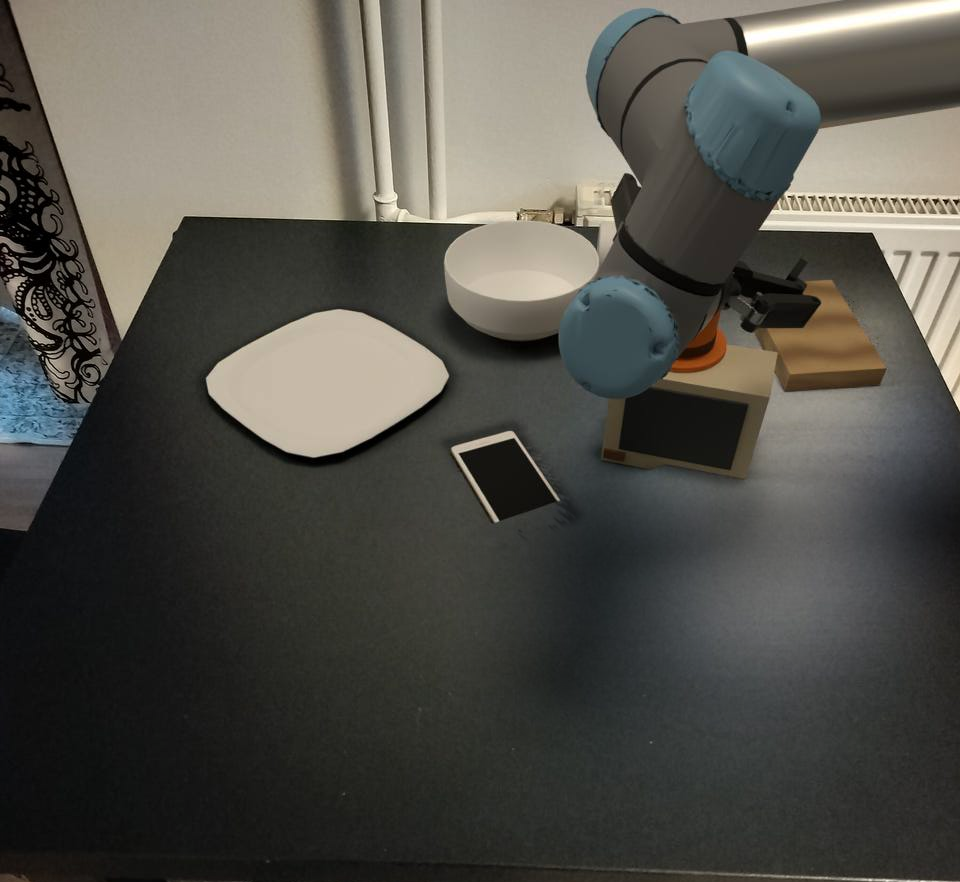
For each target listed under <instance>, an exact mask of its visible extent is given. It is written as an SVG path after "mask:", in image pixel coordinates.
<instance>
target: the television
mask: <svg viewBox="0 0 960 882" xmlns="http://www.w3.org/2000/svg"><path fill="white" fill-rule="evenodd" d="M777 354H778V352H773V351H767V350H764V349H760V348H753V347H749V346H748V347H747V346H741V345H735V344H729V343H727V348H726V352H725V355H724V357H723V358H722V360H721V361H720V362H719V363H717V364H716V365H714V366H713V367H711V368H708V369H706V370H702V371H698V372H690V373H678V372H670V371H669V372H668V374H667V375H666V376H665V377H664V378H663V379H659V380H658V382H657V383H655V384H653V385H652V386H651V387H649V388H648V389H647V390H645V391H644V392H642V393H640V394H638V395H635V396H632V397H629V398H623V399H610V398H608V402H607V409H606V416H605V417H606V418H605V425H604V426H605V427H604V435H603V440H602V441H603V443H602V450H601V458H600V460H601V461H603V462H604V461H605V462H610V463H615V464H619V465H625V466H631V467H635V468H641V469H645V470H653V469H656V468H660V467H663V466H665V465H669V466H675V467H679V468H685V469H691V470H695V471H700V472H706V473H712V474H716V475H722V476H725V477H731V478H737V479H743V480H746V478H747V476H748V472H749V469H750V466H751V462H752V458H753V455H754V451H755V450H756V449H755V448H756V445H757V442H758V439H759V435H760V432H761V429H762V425H763V421H764V419H765V415H766V412H767V408H768V405H769V403H770V402H769V401H770V398H771V395H772V394H771V393H772V388H773V382H774V376H775V366H776V360H777Z"/></svg>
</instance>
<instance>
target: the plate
mask: <svg viewBox="0 0 960 882" xmlns="http://www.w3.org/2000/svg"><path fill="white" fill-rule="evenodd" d="M449 378H450V374H449V372H448V370H447V368H446V366H445V364H444V362H443V360H442V358H439V357H438V356H437V355H436V354H435V353H433V352H432V351H431V350H430V349H428V348H426V346H424V345H422V344H421V343H419V342H418V341H416V340H414V339H413V338H411V337H409V336H408V335H406V334H404V333H403V332H401V331H399V330H398V329H396V328H394V327H392V326H390V325H389V324H387V323H385V322H384V321H381V320H379V319H376V318H374V317H372V316H370V315H368V314H366V313H364V312H360V311H359V312H358V311H353V310H348V309H341V308H336V309H331V310H326V311H319V312H314V313H311V314H308V315H306V316H304V317H302V318H299V319H297V320H295V321H291V322H289V323H287V324H286V325H283V326H280V327H279V328H277V329H275V330H273V331H272V332H269V333H267V334H265V335H264V336H262V337H259V338H257V339H256V340H254V341H252V342H250V343H248V344H246V345H244V346H242V347H241V348H239V349H237V350H236V351H235V352H232V353H231V354H229V355H228V356H226V357H225V358H223V359H222V360H220V361H218V362H217V363H216V365H215V366H214V367H213V369H212V370H211V371H210V372H209V373H208V375H207V376H206V377H205V381H206V386H207V391H208V395H209V396H210V398H211V399H213V401H214V402H215V403H216V404H217V405H218V406H219V407H220V408H221V409H222V410H223V411H224V412H225V413H227V414H228V415H229V416H230V417H232V418H233V419H235V421H237V422H238V423H239V424H241V425H242V426H243V427H245V428H246V429H247V430H248V431H250V432H252V433H253V434H254V435H256V436H257V437H258V438H260V439H261V440H263V441H264V442H266V443H268V444H269V445H271V446H273V447H275V448H277V449H278V450H280V451H282V452H284V453H285V454H288V455H294V456H298V457H304V458H309V459H314V460H315V459H319V458H323V457H324V458H325V457H330V456H335V455H340V454H343V453H346V452H348V451H350V450H352V449H354V448H356V447H358V446H360V445H363V444H364V443H367V442H368V441H370V440H372V439H374V438H375V437H378V436H379V435H380V434H382V433H384V432H385V431H388V430H389V429H391V428H392V427H394V426H396V425H397V424H399V423H401V422H402V421H403V420H406V419H407V418H408V417H410V416H412V415H413V414H415V413H416V412H418V411H419V410H421V409H423V408H424V407H425V406H426V405H427V404H429V403H430V402H431V401H433V400H435V398H437V397H438V396H439V395H440V394H441V393H442V392H443V389H444V388H445V386H446V384H447V382H448V380H449Z"/></svg>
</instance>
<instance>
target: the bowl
mask: <svg viewBox="0 0 960 882" xmlns="http://www.w3.org/2000/svg"><path fill="white" fill-rule="evenodd" d="M443 267H444V280H445V289H446V295H447V301H448V303H449V305H450V307H451V308H452V310H453V311H454V312H455V313H456V314H457V315H458V316H459V317H461V318H462V320H464V322H465V323H466V324H467V325H469V326H470V327H472V328H473V329H475V330H476V331H479V332H481V333H484V334H485V335H487V336H491V337H493V338H497V339H500V340H505V341H511V342H530V341H537V340H541V339H545V338H548V337H552V336H554V335H557V334H559V328H560V323H561V320H562V317H563V315H564V312H565V311H566V309H567V307H568V306H569V304H570V303H571V302H572V301H573V299H574V298H575V297H576V295H577V293H578V291H579V290H580V289H581V288H585V286H586V284H587V283H589V282H591V281H593V280H594V278H595V277H596V275H597V273H598V271H599V256H598V254H597V248H595V246H594V244H592V243H591V241H589V240H588V239H587V238H586V237H584V236H583V235H582V234H580V233H578V232H576V231H575V230H572V229H570V228H568V227H565V226H562V225H559V224H555V223H550V222H545V221H538V220H526V219H525V220H522V219H516V220H515V219H514V220H503V221H497V222H492V223H491V222H490V223H488V224H483V225H481V226H477V227H474V228H472V229H470V230H467V231H466V232H464V233H462V234H461V235H460V236H458V237H457V238H456V239H454V241H453V242H452V243H451V244H450V245H449V246H448V248H447V250H446V251H445V254H444V259H443Z"/></svg>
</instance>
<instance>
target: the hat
mask: <svg viewBox="0 0 960 882" xmlns="http://www.w3.org/2000/svg"><path fill="white" fill-rule="evenodd" d="M721 313H722V310H720V311H719V312H718V313H717V314H716V315H715V316H714V318H713V319H712V320H711V321H710V322H709V323H708V324H707V325H706V326H705V328H704V329H703V330H702V331H701V332H700V333H699V334H698V335H697V336H696V337H695V338H694V340H693V341H692V342H691V343H690V344H689V345H688V346H687V347H686V348H685V349H684V351H683V352H682V353H681V354H680V356H679V357H678V358H677V359H676V361H675V362H674V363H673V365H672V366H671V369H670V372H678V373H690V372H698V371H702V370H706V369H708V368H711V367H713V366H714V365H716V364H717V363H719V362H720V361H721V360H722V358H723V357H724V355H725V352H726V348H727V344H728V343H727V338H726V336H725V333H723V331H722V330H721V329H720V328H719V327H718V326H719V321H720V317H721Z"/></svg>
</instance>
